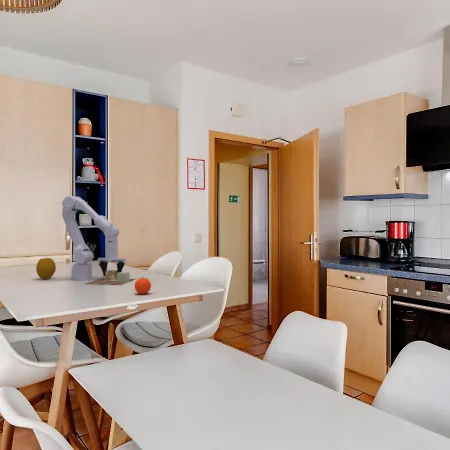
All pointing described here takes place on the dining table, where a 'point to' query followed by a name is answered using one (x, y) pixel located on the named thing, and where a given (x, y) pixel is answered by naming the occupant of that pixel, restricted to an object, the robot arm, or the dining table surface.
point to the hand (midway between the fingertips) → (112, 276)
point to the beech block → (111, 275)
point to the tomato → (142, 285)
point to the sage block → (123, 277)
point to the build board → (106, 282)
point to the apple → (45, 268)
